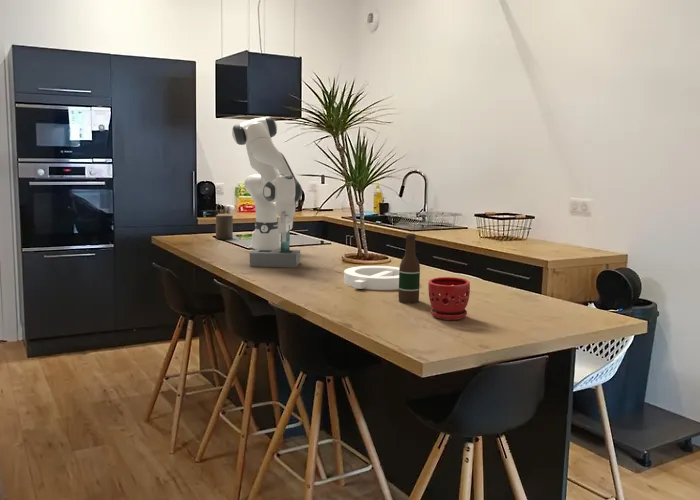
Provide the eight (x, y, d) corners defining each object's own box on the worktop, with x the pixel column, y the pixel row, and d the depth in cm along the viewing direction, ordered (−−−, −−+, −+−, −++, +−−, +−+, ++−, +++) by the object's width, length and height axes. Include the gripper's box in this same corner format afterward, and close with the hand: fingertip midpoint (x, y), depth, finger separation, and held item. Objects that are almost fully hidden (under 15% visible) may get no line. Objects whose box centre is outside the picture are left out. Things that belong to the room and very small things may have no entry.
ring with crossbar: (354, 292, 252) (355, 279, 251) (336, 278, 279) (336, 266, 278) (424, 289, 260) (424, 277, 259) (399, 275, 286) (400, 264, 285)
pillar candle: (224, 240, 383) (224, 213, 381) (212, 238, 388) (212, 212, 386) (236, 238, 391) (236, 212, 389) (223, 237, 396) (224, 211, 394)
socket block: (255, 261, 313) (255, 248, 312) (300, 262, 312) (300, 249, 311) (249, 266, 300) (249, 252, 300) (296, 267, 299) (296, 254, 298)
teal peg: (279, 254, 306) (279, 224, 304) (287, 254, 308) (288, 224, 306) (282, 256, 303) (282, 225, 301) (290, 255, 304) (291, 225, 302)
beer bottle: (423, 303, 234) (425, 235, 231) (402, 304, 232) (404, 235, 228) (414, 298, 242) (417, 232, 238) (394, 299, 239) (396, 232, 236)
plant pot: (431, 310, 224) (432, 275, 222) (470, 314, 220) (472, 278, 218) (423, 320, 211) (425, 282, 209) (465, 323, 207) (467, 285, 206)
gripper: (289, 212, 292) (288, 244, 294) (295, 208, 312) (295, 238, 314) (274, 212, 292) (274, 243, 294) (282, 208, 312) (281, 238, 314)
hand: (285, 241), depth 304 cm, fingers closed on teal peg, 4 cm apart
